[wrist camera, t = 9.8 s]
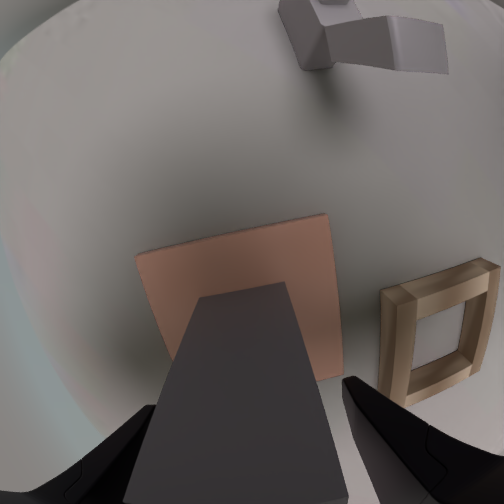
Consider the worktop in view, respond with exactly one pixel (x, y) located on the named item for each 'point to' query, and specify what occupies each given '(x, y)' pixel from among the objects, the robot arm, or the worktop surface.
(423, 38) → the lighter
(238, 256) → the tile
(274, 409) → the dark grey block
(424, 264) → the worktop surface
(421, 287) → the wooden square frame
